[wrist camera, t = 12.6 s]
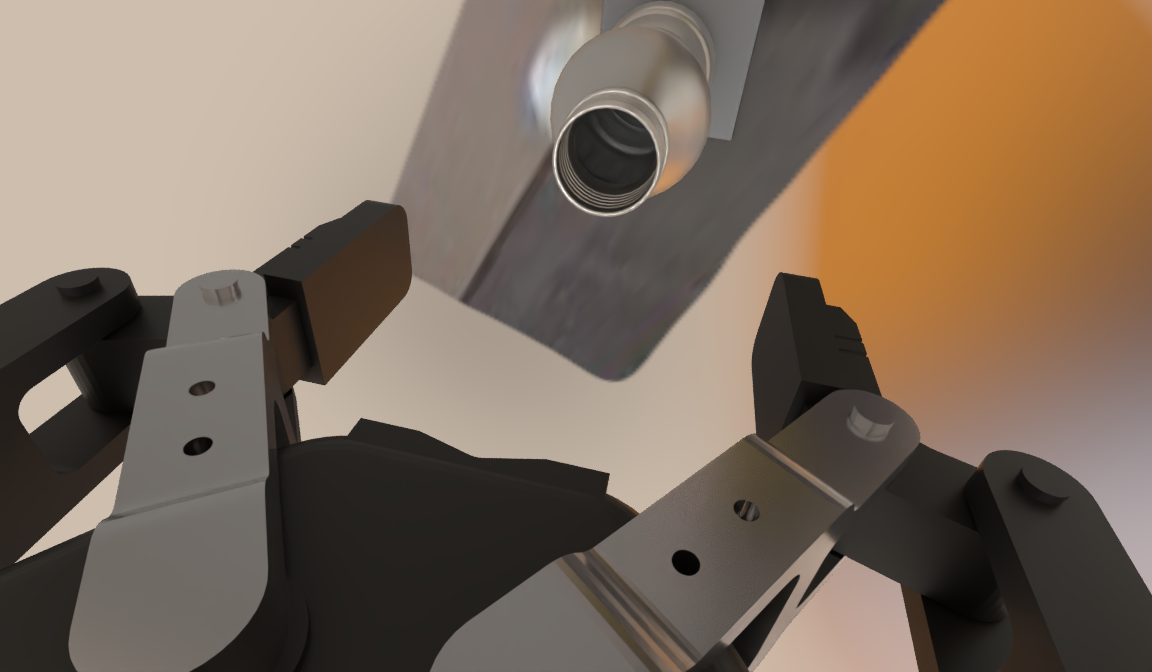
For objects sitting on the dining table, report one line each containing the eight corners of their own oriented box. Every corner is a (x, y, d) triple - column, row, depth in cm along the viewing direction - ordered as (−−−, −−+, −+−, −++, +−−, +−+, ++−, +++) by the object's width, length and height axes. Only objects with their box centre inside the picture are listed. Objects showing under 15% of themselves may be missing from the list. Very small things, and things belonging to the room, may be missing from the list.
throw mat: (614, -102, 31) (613, -102, 30) (784, -85, 30) (785, -85, 29) (592, 118, 37) (591, 120, 37) (730, 138, 36) (730, 140, 36)
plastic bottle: (591, 93, 36) (485, 213, 20) (634, -25, 32) (546, 8, 16) (683, 135, 36) (651, 287, 20) (737, 24, 32) (752, 104, 16)
